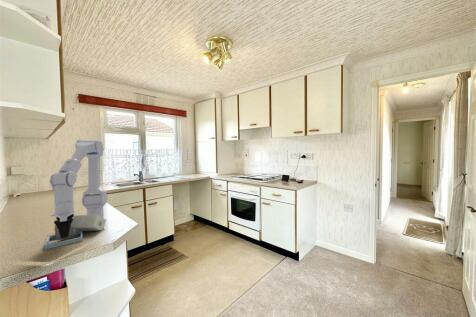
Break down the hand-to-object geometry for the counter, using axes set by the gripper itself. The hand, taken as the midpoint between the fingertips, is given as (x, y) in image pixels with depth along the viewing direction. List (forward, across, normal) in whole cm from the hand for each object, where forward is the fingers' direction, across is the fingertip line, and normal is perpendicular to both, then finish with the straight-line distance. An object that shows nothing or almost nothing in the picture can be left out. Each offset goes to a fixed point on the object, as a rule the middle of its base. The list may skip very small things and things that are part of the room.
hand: (65, 234), depth 79 cm
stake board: (+3, -10, -2) cm, 11 cm away
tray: (+3, 0, 0) cm, 3 cm away
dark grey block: (+1, 0, 0) cm, 1 cm away
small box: (-1, -3, +12) cm, 13 cm away
